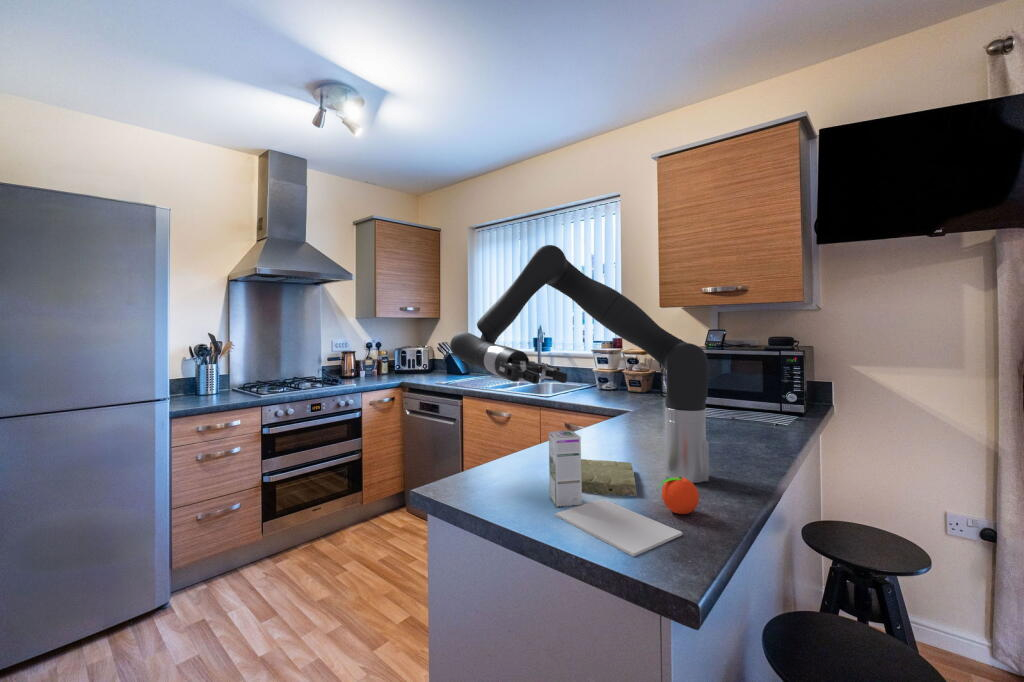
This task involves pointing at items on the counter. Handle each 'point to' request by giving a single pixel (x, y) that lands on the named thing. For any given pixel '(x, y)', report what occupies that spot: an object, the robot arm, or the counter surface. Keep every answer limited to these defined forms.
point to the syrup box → (565, 468)
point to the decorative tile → (608, 477)
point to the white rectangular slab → (619, 526)
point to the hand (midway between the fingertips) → (552, 379)
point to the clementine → (680, 495)
